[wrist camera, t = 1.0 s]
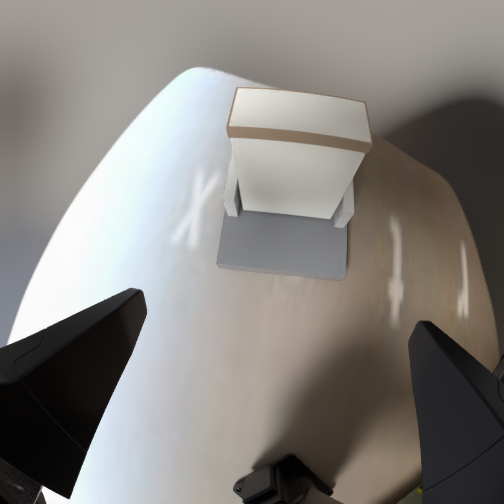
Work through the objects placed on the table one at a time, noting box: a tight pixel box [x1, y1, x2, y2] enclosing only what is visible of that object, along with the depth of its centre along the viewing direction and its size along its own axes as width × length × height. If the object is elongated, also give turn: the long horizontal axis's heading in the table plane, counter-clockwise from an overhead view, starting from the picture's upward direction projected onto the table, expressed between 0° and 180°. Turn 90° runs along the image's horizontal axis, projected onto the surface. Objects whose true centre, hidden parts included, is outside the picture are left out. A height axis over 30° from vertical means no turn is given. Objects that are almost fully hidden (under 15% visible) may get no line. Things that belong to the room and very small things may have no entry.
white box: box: [226, 87, 373, 219], centre depth 17 cm, size 3×7×10 cm, turn 83°
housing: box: [217, 149, 354, 281], centre depth 22 cm, size 14×10×4 cm
